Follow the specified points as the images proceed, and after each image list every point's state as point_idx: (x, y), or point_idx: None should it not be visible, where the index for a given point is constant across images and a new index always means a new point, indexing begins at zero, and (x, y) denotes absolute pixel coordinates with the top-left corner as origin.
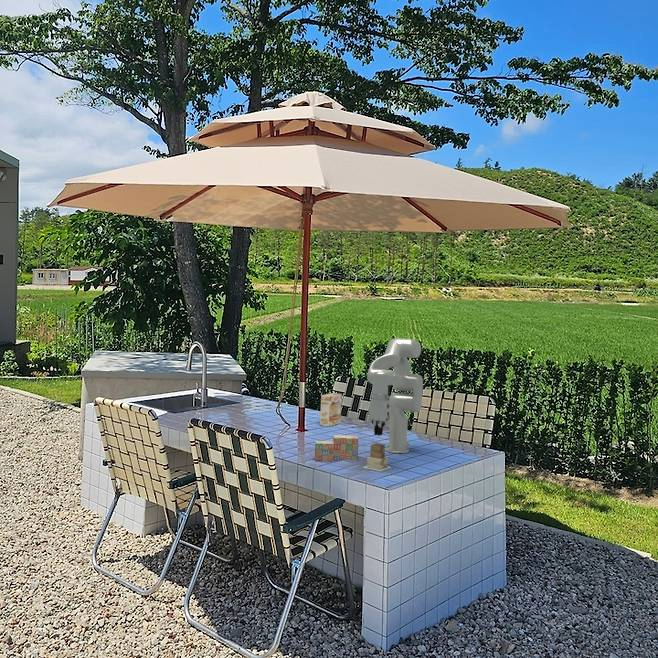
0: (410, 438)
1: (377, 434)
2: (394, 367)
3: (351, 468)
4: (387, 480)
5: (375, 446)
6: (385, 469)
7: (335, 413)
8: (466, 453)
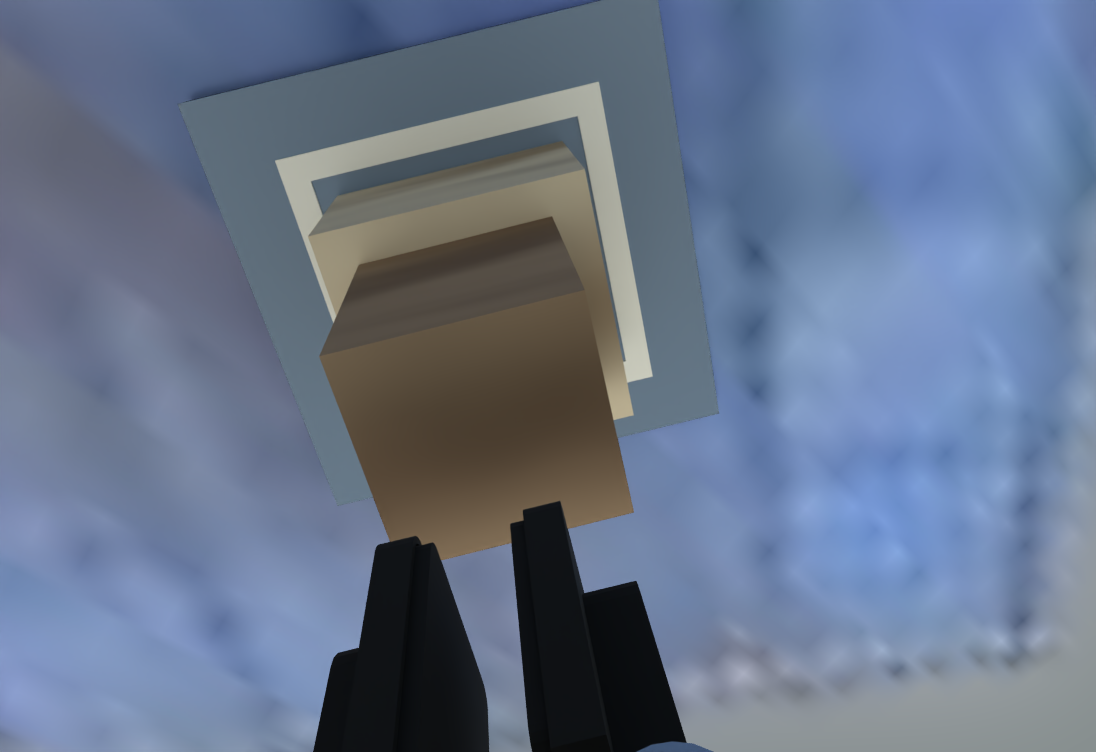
0: None
1: (460, 617)
2: None
3: (250, 499)
4: (889, 477)
5: None
6: (637, 253)
7: None
8: None
